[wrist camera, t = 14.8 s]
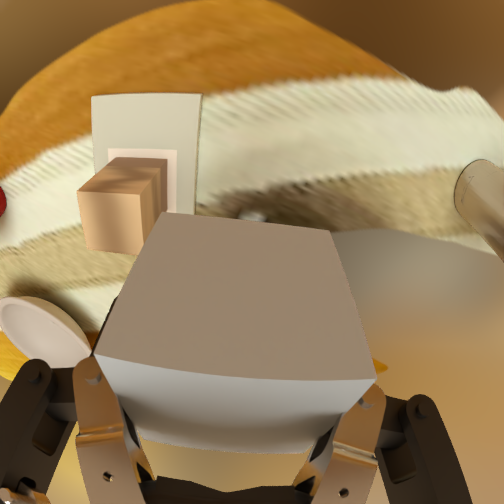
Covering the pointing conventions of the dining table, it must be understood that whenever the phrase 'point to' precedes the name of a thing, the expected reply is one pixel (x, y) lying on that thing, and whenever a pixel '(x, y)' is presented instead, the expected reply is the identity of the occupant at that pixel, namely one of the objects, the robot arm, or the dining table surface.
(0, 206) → the plastic cup
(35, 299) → the soup bowl
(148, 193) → the oak block
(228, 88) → the dining table surface
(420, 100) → the dining table surface
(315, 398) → the grey block
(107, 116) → the board
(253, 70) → the dining table surface
